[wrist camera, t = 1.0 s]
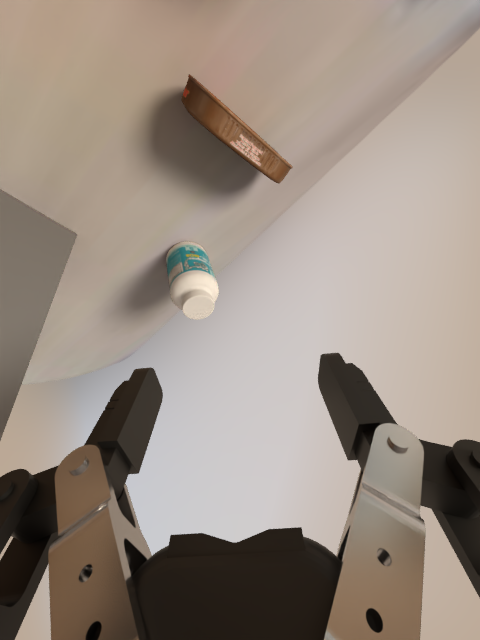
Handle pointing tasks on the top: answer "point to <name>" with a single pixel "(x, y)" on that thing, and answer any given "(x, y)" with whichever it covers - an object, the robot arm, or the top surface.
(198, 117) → the tin
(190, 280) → the pill bottle
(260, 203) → the top surface
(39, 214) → the charcoal plinth
